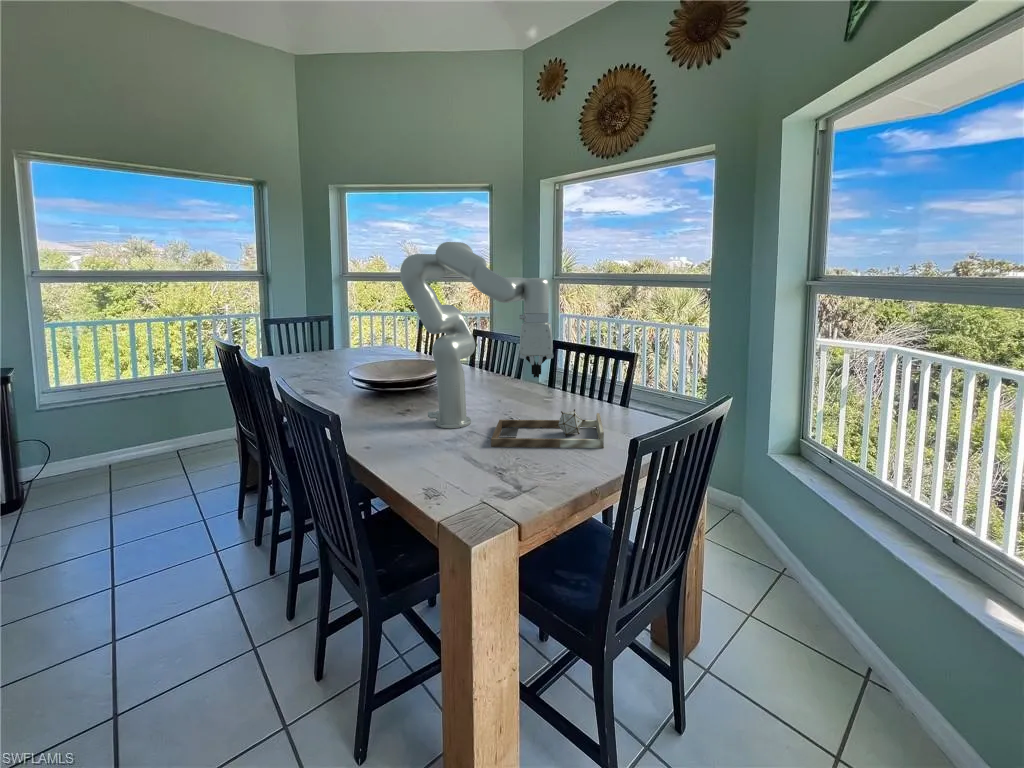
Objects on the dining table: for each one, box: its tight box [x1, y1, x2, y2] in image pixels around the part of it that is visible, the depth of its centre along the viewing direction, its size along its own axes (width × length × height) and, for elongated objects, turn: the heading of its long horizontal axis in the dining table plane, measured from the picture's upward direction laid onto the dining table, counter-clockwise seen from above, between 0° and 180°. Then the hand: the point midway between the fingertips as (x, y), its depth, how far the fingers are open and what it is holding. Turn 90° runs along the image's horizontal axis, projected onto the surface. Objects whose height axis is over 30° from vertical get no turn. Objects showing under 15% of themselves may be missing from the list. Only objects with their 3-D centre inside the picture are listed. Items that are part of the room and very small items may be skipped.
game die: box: [555, 408, 586, 437], centre depth 162 cm, size 9×8×10 cm
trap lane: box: [490, 412, 605, 449], centre depth 161 cm, size 34×20×5 cm, turn 84°
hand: (536, 376), depth 159 cm, fingers closed
